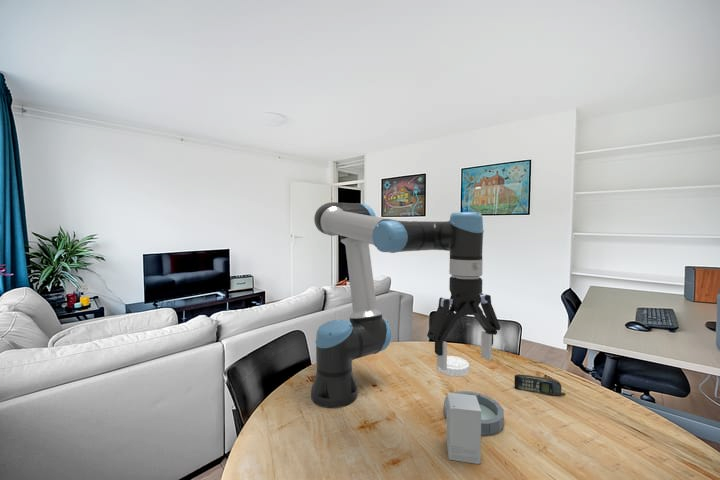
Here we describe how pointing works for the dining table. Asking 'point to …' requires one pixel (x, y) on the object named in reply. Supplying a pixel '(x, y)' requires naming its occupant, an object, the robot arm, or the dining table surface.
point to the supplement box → (463, 428)
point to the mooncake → (455, 367)
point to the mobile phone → (538, 385)
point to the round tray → (486, 413)
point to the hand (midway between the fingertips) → (464, 363)
